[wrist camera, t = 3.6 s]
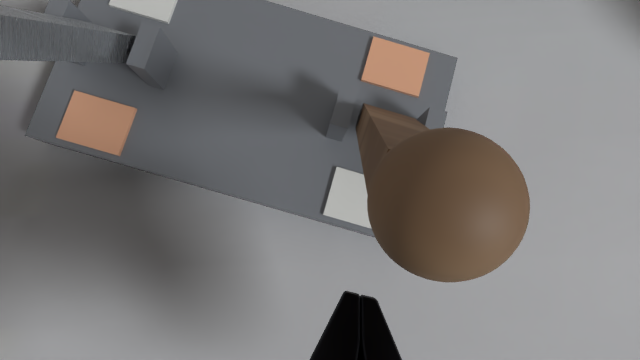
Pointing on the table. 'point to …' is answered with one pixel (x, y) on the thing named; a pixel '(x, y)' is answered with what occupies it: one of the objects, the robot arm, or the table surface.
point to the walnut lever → (440, 196)
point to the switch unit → (240, 99)
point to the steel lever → (59, 39)
